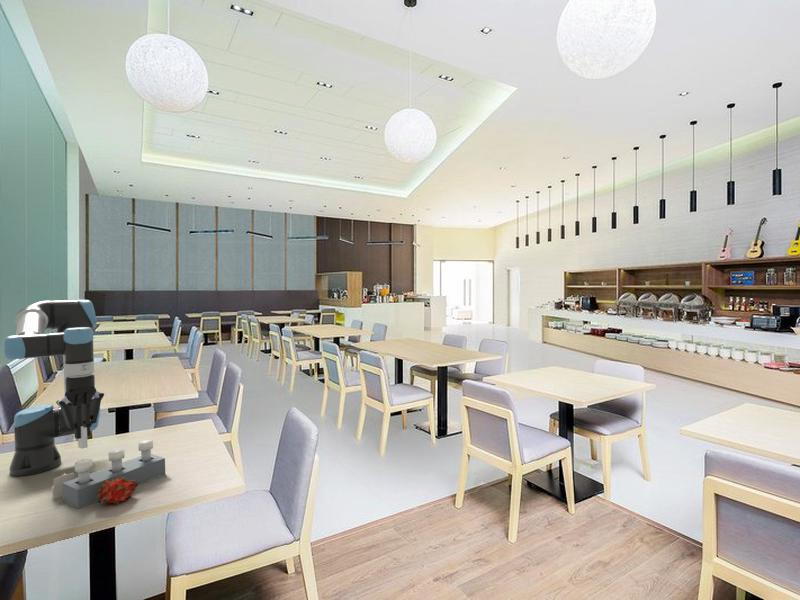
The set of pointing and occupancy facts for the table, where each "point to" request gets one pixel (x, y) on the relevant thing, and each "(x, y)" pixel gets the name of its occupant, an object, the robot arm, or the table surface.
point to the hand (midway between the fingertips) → (82, 447)
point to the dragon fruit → (116, 490)
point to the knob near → (83, 470)
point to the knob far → (145, 449)
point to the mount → (130, 471)
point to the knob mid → (116, 459)
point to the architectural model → (60, 485)
